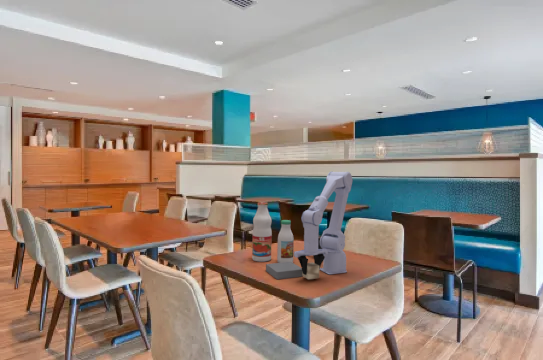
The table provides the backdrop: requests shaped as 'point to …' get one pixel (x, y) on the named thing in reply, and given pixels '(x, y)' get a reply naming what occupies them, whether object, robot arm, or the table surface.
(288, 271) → the grey base
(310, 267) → the maple cube
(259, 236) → the fruit juice
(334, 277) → the table surface
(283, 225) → the milk bottle
